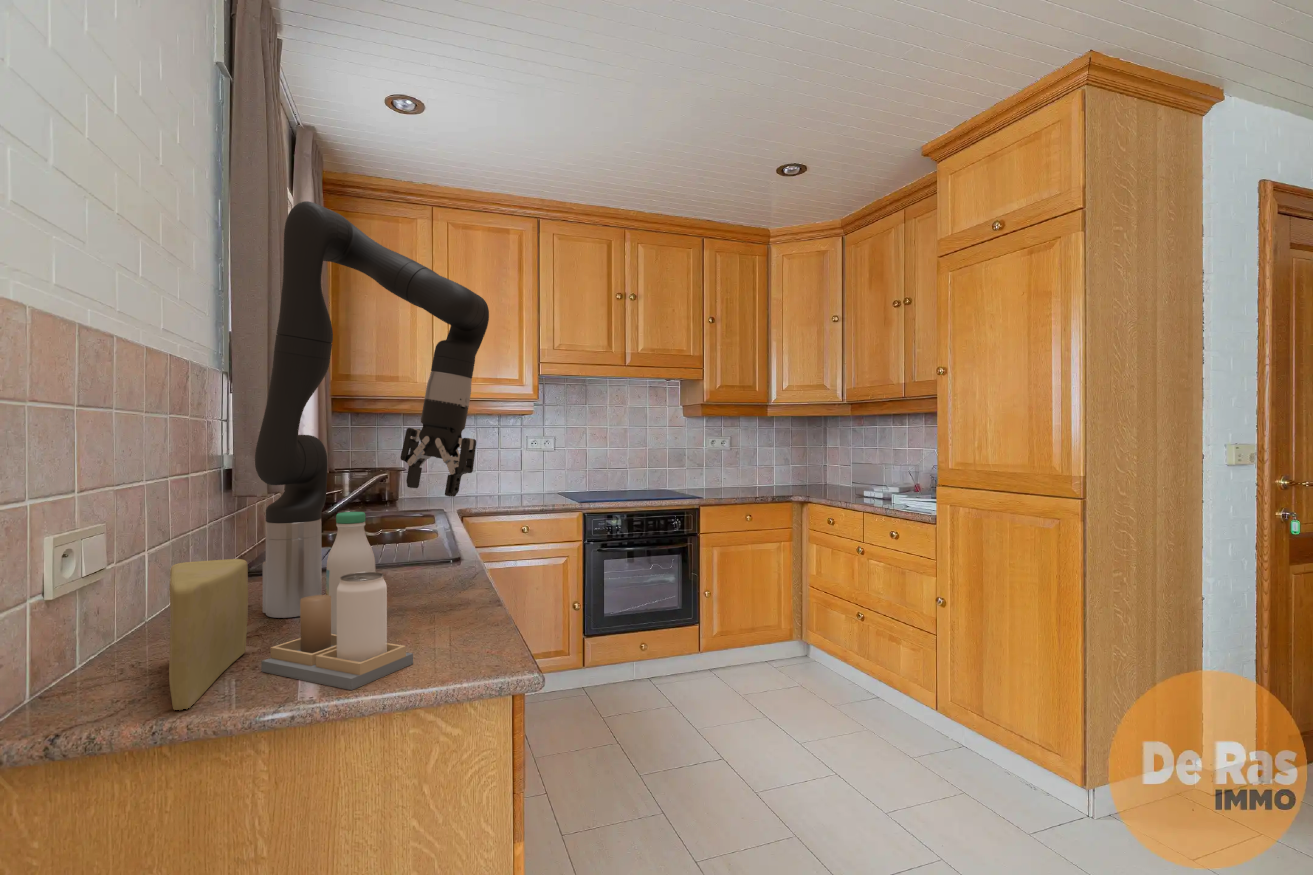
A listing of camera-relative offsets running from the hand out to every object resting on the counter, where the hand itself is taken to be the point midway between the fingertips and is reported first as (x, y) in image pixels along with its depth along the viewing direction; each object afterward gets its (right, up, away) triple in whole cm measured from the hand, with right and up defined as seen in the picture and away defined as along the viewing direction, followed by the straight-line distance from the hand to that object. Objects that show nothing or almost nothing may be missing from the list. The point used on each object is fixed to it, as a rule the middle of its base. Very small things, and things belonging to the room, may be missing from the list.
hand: (431, 491), depth 118 cm
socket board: (-6, -23, -21) cm, 32 cm away
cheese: (-23, -24, -27) cm, 42 cm away
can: (-2, -22, -23) cm, 32 cm away
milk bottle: (-13, -24, -3) cm, 27 cm away
